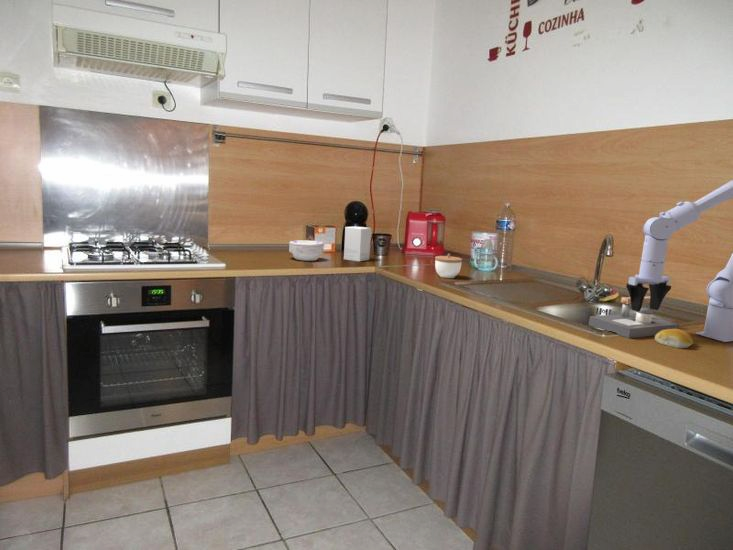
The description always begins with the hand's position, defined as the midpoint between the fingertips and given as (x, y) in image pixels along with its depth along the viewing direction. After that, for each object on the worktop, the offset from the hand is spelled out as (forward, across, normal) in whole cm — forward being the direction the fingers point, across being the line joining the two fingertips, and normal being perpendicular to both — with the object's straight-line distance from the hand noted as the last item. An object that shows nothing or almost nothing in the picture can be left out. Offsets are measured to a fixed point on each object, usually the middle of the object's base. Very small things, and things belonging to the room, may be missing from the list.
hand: (644, 309), depth 150 cm
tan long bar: (-1, -5, -6) cm, 7 cm away
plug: (+6, 0, 0) cm, 6 cm away
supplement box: (+6, +28, -126) cm, 130 cm away
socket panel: (+6, +2, -1) cm, 6 cm away
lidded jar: (+6, +9, -81) cm, 82 cm away
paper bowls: (+6, +52, -128) cm, 139 cm away
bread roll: (+6, +4, +12) cm, 14 cm away
